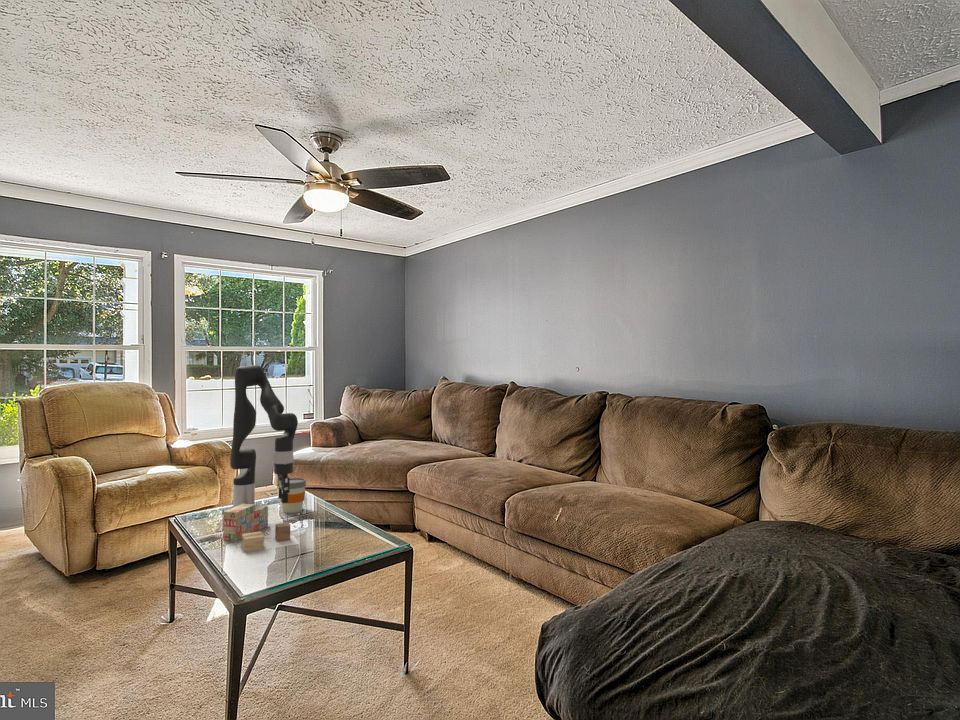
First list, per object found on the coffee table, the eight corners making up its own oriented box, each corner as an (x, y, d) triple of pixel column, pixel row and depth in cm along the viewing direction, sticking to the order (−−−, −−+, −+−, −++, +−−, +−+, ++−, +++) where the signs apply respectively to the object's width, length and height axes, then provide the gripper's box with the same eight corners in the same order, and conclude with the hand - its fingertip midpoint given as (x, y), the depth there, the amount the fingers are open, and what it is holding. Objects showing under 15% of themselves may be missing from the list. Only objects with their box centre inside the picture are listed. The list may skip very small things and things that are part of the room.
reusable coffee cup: (310, 508, 258) (311, 479, 258) (293, 515, 246) (294, 484, 247) (291, 506, 262) (291, 477, 263) (273, 512, 251) (273, 482, 251)
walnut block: (275, 538, 211) (275, 523, 211) (287, 536, 214) (288, 522, 214) (277, 541, 207) (277, 527, 207) (290, 540, 210) (290, 525, 210)
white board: (236, 544, 204) (236, 543, 204) (293, 536, 216) (293, 535, 216) (239, 554, 194) (239, 553, 194) (299, 544, 205) (299, 543, 205)
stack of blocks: (255, 525, 230) (256, 498, 231) (268, 526, 229) (268, 499, 229) (222, 540, 209) (223, 510, 210) (236, 542, 208) (236, 511, 208)
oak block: (242, 546, 201) (242, 533, 201) (261, 543, 205) (261, 531, 205) (244, 552, 195) (244, 539, 195) (263, 549, 199) (263, 536, 199)
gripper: (271, 459, 215) (270, 498, 215) (276, 464, 203) (276, 505, 203) (290, 458, 219) (289, 495, 219) (296, 463, 207) (295, 503, 206)
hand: (283, 500), depth 211 cm, fingers open, 8 cm apart
